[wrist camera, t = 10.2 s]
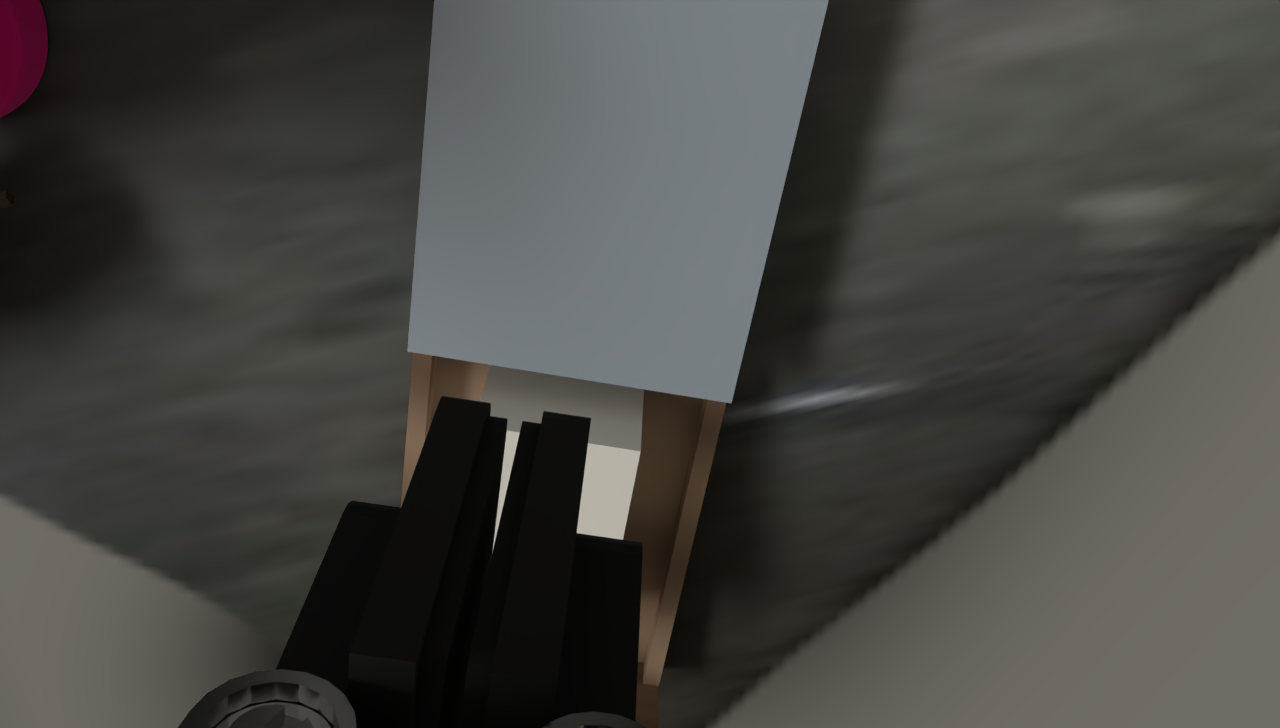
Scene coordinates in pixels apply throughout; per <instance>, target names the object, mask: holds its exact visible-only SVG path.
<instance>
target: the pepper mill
mask: <svg viewBox="0 0 1280 728" xmlns="http://www.w3.org/2000/svg"><path fill="white" fill-rule="evenodd" d="M47 51H48V36H47V24H46V19H45V15H44V11H43V7H42V5H41V2H40V0H0V118H1V117H3V116H5V115H6V114H8V113H10V112H12V111H13V110H15V109H16V108H18V107H19V106H20V105H21V104H23V103H24V102H25V101H26V100H27V99H28V98H29V97H30V96H31V94H32V93H33V91H34V90H35V88H36V87H37V85H38V84H39V81H40V79H41V77H42V74H43V72H44V69H45V64H46V60H47Z"/></svg>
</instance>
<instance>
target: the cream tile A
mask: <svg viewBox="0 0 1280 728" xmlns="http://www.w3.org/2000/svg"><path fill="white" fill-rule="evenodd" d="M643 398H644V389H638V388H632V387H626V386H620V385H613V384H607V383H601V382H595V381H588V380H582V379H576V378H570V377H563V376H557V375H551V374H545V373H538V372H532V371H526V370H520V369H513V368H507V367H501V366H495V365H491V367H490V370H489V373H488V376H487V380H486V383H485V386H484V390H483V393H482V396H481V400H480V401H481V402H487V403H490V404H491V414H490V416H494V417H501V418H507V420H508V421H507V433H506V441H505V450H504V458H503V467H502V475H501V484H500V492H499V501H498V509H497V518H496V526H495V535H494V543H493V548H494V544H495V540H496V535H497V531H498V526H499V522H500V518H501V513H502V509H503V504H504V500H505V495H506V491H507V487H508V482H509V478H510V473H511V469H512V465H513V460H514V456H515V451H516V447H517V443H518V438H519V434H520V429H521V425H522V421H527V422H534V423H541V421H542V416H543V412H544V411H548V412H554V413H561V414H568V415H574V416H581V417H588V418H591V424H590V432H589V439H588V447H587V455H586V463H585V471H584V479H583V486H582V494H581V502H580V510H579V518H578V526H577V533H579V534H586V535H593V536H600V537H607V538H614V539H621V540H623V537H624V532H625V527H626V522H627V517H628V512H629V507H630V502H631V497H632V492H633V487H634V482H635V477H636V472H637V467H638V462H639V457H640V452H641V436H642V417H643ZM492 553H493V552H492Z"/></svg>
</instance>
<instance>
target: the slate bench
mask: <svg viewBox="0 0 1280 728" xmlns="http://www.w3.org/2000/svg"><path fill="white" fill-rule="evenodd" d="M828 1H829V0H434V10H433V23H432V36H431V49H430V63H429V76H428V89H427V102H426V115H425V128H424V141H423V154H422V167H421V180H420V194H419V207H418V220H417V233H416V246H415V259H414V272H413V285H412V298H411V311H410V325H409V338H408V351H407V352H413V353H420V354H426V355H432V356H438V357H445V358H451V359H457V360H463V361H470V362H476V363H482V364H488V365H495V366H501V367H507V368H513V369H520V370H526V371H532V372H538V373H545V374H551V375H557V376H563V377H570V378H576V379H582V380H588V381H595V382H601V383H607V384H613V385H620V386H626V387H632V388H638V389H645V390H651V391H657V392H663V393H670V394H676V395H682V396H688V397H695V398H701V399H707V400H713V401H720V402H726V403H732V399H733V395H734V391H735V387H736V383H737V378H738V374H739V370H740V366H741V362H742V358H743V354H744V349H745V345H746V341H747V337H748V333H749V329H750V325H751V320H752V316H753V312H754V308H755V304H756V300H757V296H758V291H759V287H760V283H761V279H762V275H763V271H764V267H765V262H766V258H767V254H768V250H769V246H770V242H771V238H772V233H773V229H774V225H775V221H776V217H777V213H778V209H779V204H780V200H781V196H782V192H783V188H784V184H785V180H786V175H787V171H788V167H789V163H790V159H791V155H792V151H793V146H794V142H795V138H796V134H797V130H798V126H799V122H800V117H801V113H802V109H803V105H804V101H805V97H806V93H807V88H808V84H809V80H810V76H811V72H812V68H813V64H814V59H815V55H816V51H817V47H818V43H819V39H820V35H821V30H822V26H823V22H824V18H825V14H826V10H827V6H828Z"/></svg>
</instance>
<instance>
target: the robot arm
mask: <svg viewBox="0 0 1280 728" xmlns="http://www.w3.org/2000/svg"><path fill="white" fill-rule="evenodd" d="M490 414H491V404H490V403H487V402H481V401H474V400H467V399H460V398H454V397H447V396H442V397H441V398H440V400H439V403H438V406H437V409H436V411H435V414H434V417H433V420H432V423H431V425H430V428H429V431H428V434H427V437H426V439H425V442H424V445H423V448H422V451H421V453H420V456H419V459H418V462H417V465H416V467H415V470H414V473H413V476H412V479H411V481H410V484H409V487H408V490H407V493H406V495H405V498H404V501H403V504H402V506H401V508H399V507H392V506H385V505H378V504H371V503H364V502H357V501H351V502H350V503H348V505H347V506H346V508H345V510H344V512H343V514H342V517H341V519H340V521H339V524H338V526H337V528H336V531H335V533H334V535H333V538H332V540H331V542H330V545H329V547H328V549H327V552H326V554H325V556H324V558H323V561H322V563H321V565H320V568H319V570H318V572H317V575H316V577H315V579H314V582H313V584H312V586H311V589H310V591H309V593H308V596H307V598H306V600H305V603H304V605H303V607H302V610H301V612H300V614H299V617H298V619H297V621H296V624H295V626H294V628H293V631H292V633H291V635H290V638H289V640H288V642H287V645H286V647H285V649H284V652H283V654H282V656H281V659H280V661H279V664H278V666H277V668H276V670H267V671H257V672H252V673H249V674H246V675H243V676H240V677H237V678H234V679H231V680H228V681H227V682H225V683H224V684H222V685H220V686H218V687H217V688H215V689H213V690H212V691H210V692H208V693H207V694H206V695H205V696H204V697H203V698H202V699H201V700H200V701H199V702H198V703H197V704H196V705H195V706H194V707H193V708H192V709H191V710H190V711H189V713H188V714H187V716H186V717H185V718H184V720H183V721H182V723H181V724H180V725H179V727H178V728H646V727H644V726H643V725H642V724H640V723H637V722H635V719H636V696H637V674H638V651H639V628H640V606H641V583H642V560H643V545H642V542H635V541H628V540H621V539H614V538H607V537H600V536H593V535H586V534H579V533H577V526H578V518H579V510H580V502H581V494H582V486H583V479H584V471H585V463H586V455H587V447H588V439H589V432H590V424H591V418H588V417H581V416H574V415H568V414H561V413H554V412H548V411H544V412H543V416H542V421H541V423H534V422H527V421H522V425H521V429H520V434H519V438H518V443H517V447H516V451H515V456H514V460H513V465H512V469H511V473H510V478H509V482H508V487H507V491H506V495H505V500H504V504H503V509H502V513H501V518H500V522H499V526H498V531H497V535H496V540H495V544H494V548H493V543H494V535H495V526H496V518H497V509H498V501H499V492H500V484H501V475H502V467H503V458H504V450H505V441H506V433H507V421H508V420H507V418H501V417H494V416H490ZM492 552H493V553H492Z"/></svg>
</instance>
